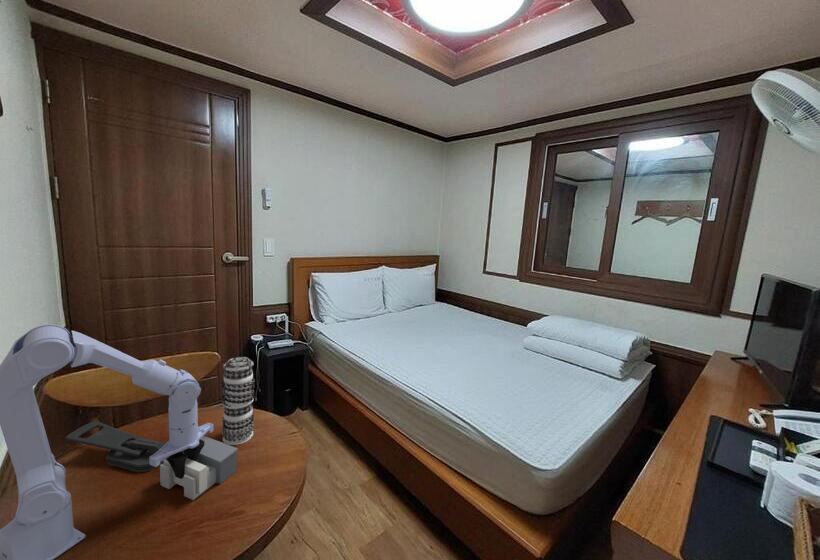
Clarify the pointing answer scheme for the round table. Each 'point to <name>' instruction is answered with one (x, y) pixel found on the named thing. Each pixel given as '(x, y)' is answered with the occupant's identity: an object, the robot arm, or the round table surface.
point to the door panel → (192, 474)
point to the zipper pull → (120, 446)
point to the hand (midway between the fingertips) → (184, 473)
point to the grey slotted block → (218, 467)
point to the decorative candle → (238, 400)
